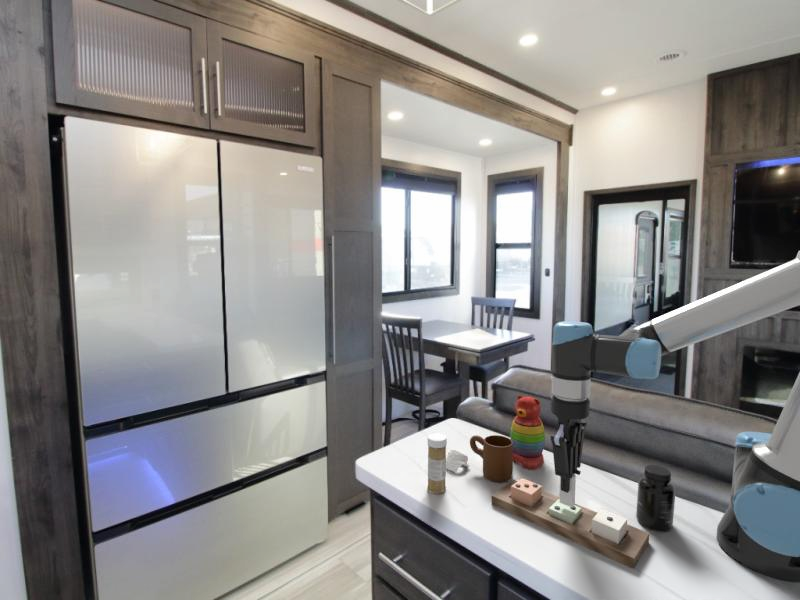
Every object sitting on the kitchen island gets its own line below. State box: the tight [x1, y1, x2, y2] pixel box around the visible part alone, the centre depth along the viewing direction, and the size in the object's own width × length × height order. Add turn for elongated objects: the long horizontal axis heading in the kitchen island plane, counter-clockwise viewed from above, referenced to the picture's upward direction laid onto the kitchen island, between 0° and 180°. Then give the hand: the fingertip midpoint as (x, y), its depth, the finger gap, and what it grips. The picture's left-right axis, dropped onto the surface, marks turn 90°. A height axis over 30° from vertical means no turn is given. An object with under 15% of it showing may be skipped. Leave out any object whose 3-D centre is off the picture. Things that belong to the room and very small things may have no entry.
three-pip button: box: [511, 477, 543, 507], centre depth 99 cm, size 5×5×3 cm
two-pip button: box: [549, 499, 581, 525], centre depth 93 cm, size 5×5×3 cm
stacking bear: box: [509, 394, 546, 471], centre depth 121 cm, size 11×10×18 cm
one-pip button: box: [592, 508, 628, 545], centre depth 87 cm, size 5×5×3 cm
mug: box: [469, 434, 514, 483], centre depth 114 cm, size 12×8×9 cm, turn 51°
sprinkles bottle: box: [427, 433, 448, 495], centre depth 106 cm, size 5×5×14 cm
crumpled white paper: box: [446, 449, 471, 473], centre depth 118 cm, size 8×7×5 cm
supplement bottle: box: [635, 464, 676, 533], centre depth 93 cm, size 7×7×12 cm
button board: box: [491, 478, 650, 569], centre depth 93 cm, size 30×10×2 cm, turn 46°
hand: (567, 503), depth 93 cm, fingers closed
